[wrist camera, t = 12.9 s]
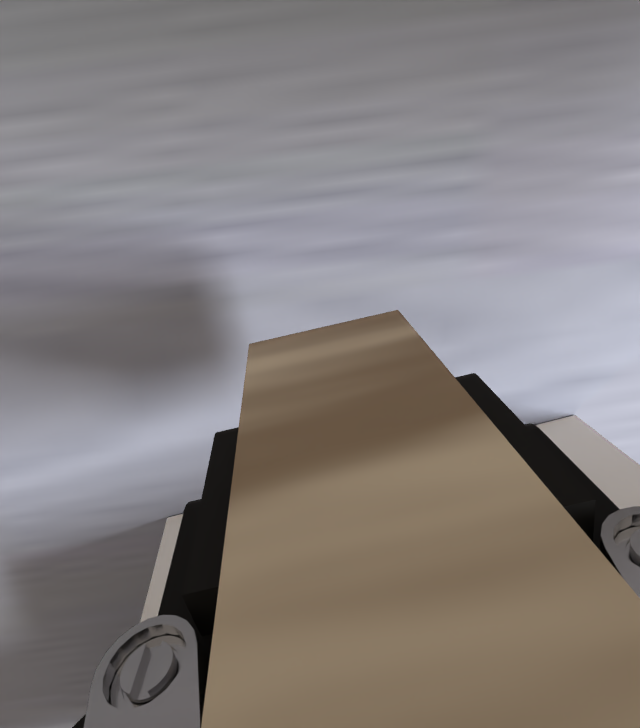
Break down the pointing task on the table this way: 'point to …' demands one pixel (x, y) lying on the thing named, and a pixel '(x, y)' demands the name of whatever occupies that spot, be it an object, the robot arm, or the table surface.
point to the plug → (403, 557)
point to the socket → (570, 434)
